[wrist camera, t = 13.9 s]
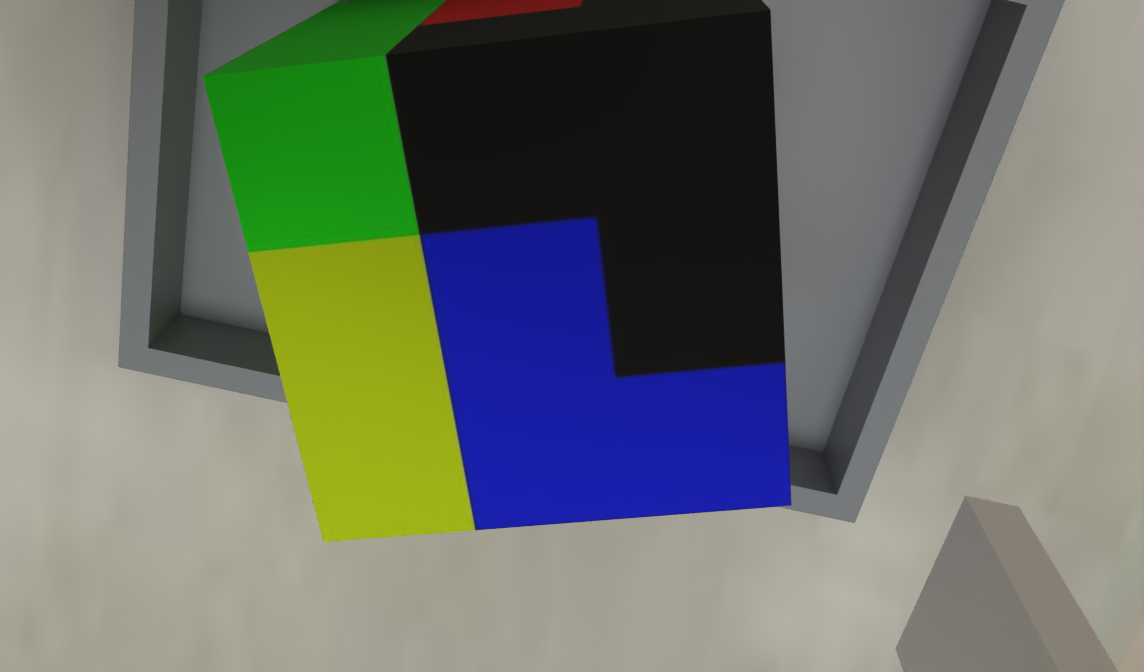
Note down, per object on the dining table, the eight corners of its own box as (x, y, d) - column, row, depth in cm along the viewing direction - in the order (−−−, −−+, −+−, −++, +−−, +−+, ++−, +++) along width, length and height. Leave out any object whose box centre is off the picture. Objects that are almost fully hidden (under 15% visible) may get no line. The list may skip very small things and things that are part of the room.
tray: (195, -238, 26) (146, -248, 24) (1028, -36, 28) (1073, -22, 25) (159, 323, 33) (118, 366, 30) (835, 468, 34) (854, 523, 31)
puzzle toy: (741, 313, 31) (791, 505, 22) (407, 344, 32) (323, 541, 23) (719, -45, 27) (770, 10, 18) (337, 1, 28) (202, 76, 19)
